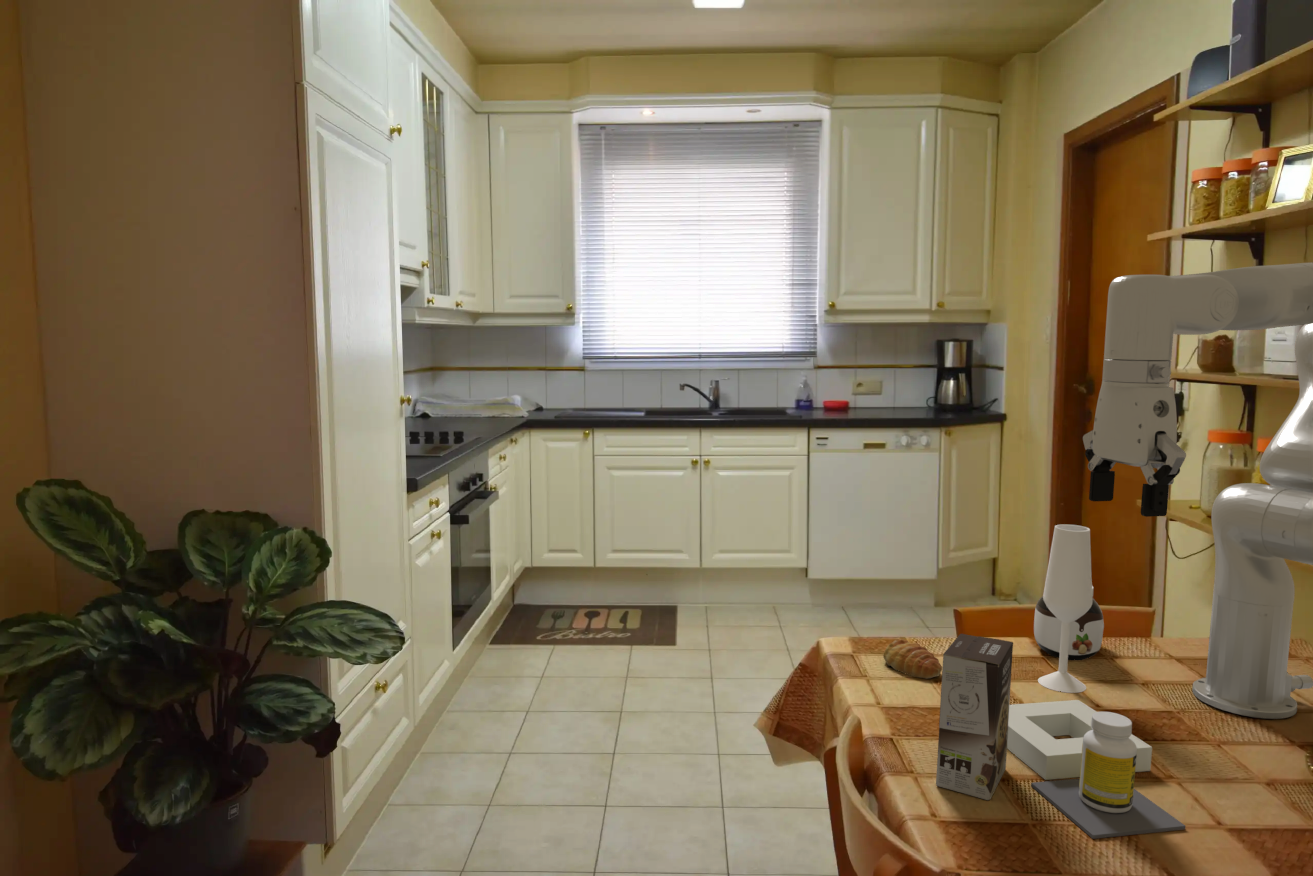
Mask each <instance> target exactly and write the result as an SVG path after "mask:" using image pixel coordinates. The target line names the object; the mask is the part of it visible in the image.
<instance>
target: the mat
mask: <svg viewBox="0 0 1313 876" xmlns="http://www.w3.org/2000/svg"><path fill="white" fill-rule="evenodd" d="M1079 781H1080V777H1078V778H1071V779H1070V778H1067V779H1055V780H1044V781H1036V782H1031V784H1030V786H1031V787H1032V788H1033V789H1034V790H1036V792H1037V793H1038V794H1040V795H1041V796H1042V797H1043V798H1044V799H1046V800H1047V801H1048V802H1049V803H1051V804H1052V805H1053V806H1054V807H1055V808H1056V809H1058V810H1059V811H1060V812H1061V813H1062V814H1063V815H1064V816H1066V817H1067V819H1069V820H1070V821H1071V822H1072V823H1073V824H1075V825H1076V827H1077V826H1078V828H1080V830H1082V831H1083V832H1084V833H1085V834H1086V835H1087V836H1089V837H1090V838H1091V839H1094V840H1095V839H1105V838H1113V837H1124V836H1133V835H1134V836H1135V835H1141V834H1143V835H1145V834H1153V833H1154V834H1155V833H1163V832H1171V831H1183V830H1186V825H1185V824H1184V823H1183V822H1181V821H1180V820H1178V819H1177V818H1176V817H1174V816H1173V815H1171V814H1170V813H1169V812H1167V811H1166V810H1164V809H1163V808H1161V807H1160V806H1159V805H1157V804H1156V803H1155V802H1153V801H1152V800H1151V799H1149V798H1148V797H1147V796H1145V795H1144V794H1142V793H1141V792H1139V791H1138V790H1137V789H1135V788H1134V790H1133V802H1132V807H1131V809H1130V810H1129V811H1127V812H1124V813H1109V812H1104V811H1100V810H1097V809H1094V808H1092V807H1090V806H1089V805H1087V804H1086V803H1084V802H1083V801H1082V800H1081V798H1080V797H1079Z"/></svg>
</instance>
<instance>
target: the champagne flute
mask: <svg viewBox="0 0 1313 876" xmlns="http://www.w3.org/2000/svg"><path fill="white" fill-rule="evenodd" d="M1091 546H1092V545H1091V529H1090V528H1089V527H1087V526H1082V525H1077V524H1065V523H1064V524H1061V523H1060V524H1057V525H1056V524H1055V525H1054V529H1053V536H1052V540H1051V546H1050V551H1049V559H1048V565H1047V571H1046V575H1045V582H1044V589H1043V595H1042V596H1043V600H1044V602H1045V604H1046V606H1047V607H1048V609H1049V610H1050V611H1051V612H1052V613H1053V614H1054V615H1055V616H1056V618H1058V619H1059V620H1061V621H1062V625H1061V640H1060V655H1059V658H1058V670H1057V671H1054V672H1051V673H1049V674H1045V675H1043V676H1040V677H1039V678H1038V679H1037V681H1038V683H1039V685H1041V686H1042V687H1044V688H1045V689H1049V690H1051V691H1056V692H1060V691H1061V693H1068V694H1071V693H1072V694H1074V693H1075V694H1076V693H1083V692H1084V691H1086V690H1087V685H1086V684H1084V683H1083V682H1082V681H1080V680H1079V679H1077V678H1076V677H1075V676H1074V675H1072V674H1070V673H1069V672H1068V663H1069V660H1068V649H1069V634H1070V622H1073V621H1075V620H1077V619H1078V618H1080V617H1081V616H1083V615H1084V614H1085V613H1086V612H1087V611H1088V610H1089V609H1090V608H1091V606H1092V598H1093V597H1092V586H1093V582H1092V581H1093V579H1092V576H1093V575H1092V574H1093V573H1092V551H1091V549H1092V547H1091Z"/></svg>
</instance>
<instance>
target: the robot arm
mask: <svg viewBox="0 0 1313 876" xmlns="http://www.w3.org/2000/svg"><path fill="white" fill-rule="evenodd" d="M1294 326H1301V328H1300V329H1299V331H1298V332H1297V335H1296V338H1295V341H1294V342H1295V343H1294V356H1295V361H1296V368H1297V375H1298V383H1299V384H1298V385H1299V386H1298V387H1299V393H1298V394H1299V395H1298V398H1297V401H1296V402H1295V405H1294V406H1293V408H1292V409H1291V411H1290V413H1289V414H1288V416H1287V417H1286V419H1285V420H1284V421H1283V422H1282V424H1281V426H1280V427H1279V428H1278V430H1277V431H1276V433H1275V435H1274V436H1273V438H1272V439H1271V440H1270V442H1269V443H1268V445H1267V446H1266V448H1265V450H1264V452H1263V453H1262V455H1261V457H1260V462H1259V473H1260V475H1261V477H1262V479H1263V480H1264V481H1265V482H1266V483H1267V484H1265V483H1264V484H1263V483H1255V482H1247V483H1246V482H1244V483H1243V482H1242V483H1236V484H1232V485H1230V486H1227V487H1226V488H1224V489H1223V490H1222V491H1220V493H1218V495H1217V496H1216V497H1215V499H1214V501H1213V504H1212V508H1211V515H1210V516H1211V517H1210V518H1211V530H1212V535H1213V542H1214V553H1215V555H1214V556H1215V557H1214V559H1215V560H1214V561H1215V562H1214V563H1215V566H1214V581H1213V582H1214V583H1213V591H1212V592H1213V593H1212V603H1211V605H1212V606H1211V615H1210V629H1209V640H1208V650H1207V651H1208V652H1207V661H1206V662H1207V663H1206V674H1205V677H1201V678H1198V679H1196V680H1194V681H1193V683H1192V690H1191V691H1192V694H1193V695H1194V696H1195V698H1197V699H1198V700H1200V701H1201V702H1202V703H1205V704H1207V705H1209V706H1211V707H1214V708H1215V709H1218V710H1220V711H1221V710H1222V711H1224V712H1228V713H1230V714H1231V713H1232V714H1235V715H1240V716H1244V717H1250V718H1258V719H1265V720H1266V719H1267V720H1269V719H1270V720H1275V719H1276V720H1279V719H1286V718H1290V717H1293V716H1294V715H1296V714H1297V711H1298V702H1297V701H1296V699H1294V698H1293V697H1292V696H1291V693H1292V692H1294V691H1295V690H1296V689H1297V690H1308V689H1309V690H1310V689H1312V688H1313V678H1312V677H1311V676H1310V675H1308V674H1299V675H1291V674H1289V673H1288V672H1287V671H1288V663H1289V652H1290V645H1291V644H1290V642H1291V633H1292V630H1291V629H1292V623H1293V622H1292V621H1293V614H1294V613H1293V612H1294V603H1295V596H1296V595H1295V591H1296V588H1295V582H1294V579H1293V575H1292V572H1291V571H1290V569H1289V566H1288V564H1287V563H1286V560H1288V561H1293V562H1297V563H1301V564H1307V565H1309V566H1310V565H1311V566H1313V262H1301V263H1300V262H1297V263H1285V264H1283V263H1282V264H1273V265H1272V264H1270V265H1255V266H1245V267H1238V268H1230V269H1222V270H1217V271H1208V272H1201V273H1200V272H1199V273H1192V274H1180V275H1165V274H1129V275H1122V276H1118V277H1115V278H1113V279H1112V281H1111V282H1110V284H1109V287H1108V293H1107V307H1106V321H1105V336H1104V351H1103V354H1104V355H1103V366H1102V378H1101V379H1102V381H1101V386H1100V390H1099V393H1098V398H1097V401H1096V402H1097V403H1096V408H1095V415H1094V423H1093V429H1092V430H1090V431H1089V432H1087V433H1085V434H1083V436H1082V441H1083V445H1084V449H1085V452H1084V455H1085V457H1086V460H1087V462H1088V464H1087V468H1088V470H1089V471H1090V477H1089V478H1090V479H1089V491H1088V492H1089V493H1088V499H1089V501H1091V502H1110V501H1113V500H1114V491H1115V479H1116V478H1115V477H1116V473H1115V472H1116V471H1115V470H1112V469H1113V467H1114V466H1115V465H1116V463H1118V464H1124V465H1126V466H1130V467H1131V466H1132V467H1139V468H1140V469H1141V471H1142V474H1143V476H1144V478H1145V481H1146V483H1143V484H1142V489H1141V490H1142V491H1141V501H1140V502H1141V503H1140V504H1141V505H1140V514H1141V516H1142V517H1146V518H1147V517H1165V516H1167V513H1168V506H1169V505H1168V501H1169V491H1170V489H1169V488H1170V485H1173V483H1174V480H1175V479H1176V477H1177V476H1178V475H1179V474H1180V472H1181V468H1182V466H1183V463H1184V462H1185V459H1186V457H1187V453H1186V451H1184V449H1182V448H1181V447H1180V446H1179V445H1178V444H1177V441H1178V440H1177V439H1178V436H1177V434H1178V429H1177V427H1178V423H1177V417H1178V416H1177V404H1176V398H1175V397H1176V396H1175V391H1174V387H1171V386H1170V381H1171V374H1172V370H1171V368H1172V357H1173V345H1174V335H1184V336H1185V335H1189V336H1190V335H1191V336H1192V335H1195V336H1197V335H1208V334H1213V333H1216V332H1218V331H1258V330H1259V331H1261V330H1267V329H1268V330H1269V329H1275V328H1276V329H1277V328H1284V327H1285V328H1286V327H1294ZM1154 469H1157V470H1156V471H1155V470H1154Z"/></svg>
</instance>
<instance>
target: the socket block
mask: <svg viewBox="0 0 1313 876" xmlns="http://www.w3.org/2000/svg"><path fill="white" fill-rule="evenodd" d="M1096 712H1097V710H1095V709H1093V708H1092V707H1091V706H1089V705H1087V704H1086V703H1084V702H1082V700H1079V699H1072V700H1071V699H1070V700H1058V701H1042V702H1030V703H1016V704H1015V703H1014V704H1009V721H1008V740H1007V751H1010V752H1011V754H1013V755H1014V754H1015V755H1014V756H1015V757H1017V758H1018V759H1019V760H1021V762H1023V763H1024V764H1025V765H1027V766H1028V767H1029V768H1030V769H1031V770H1033V771H1034V772H1035V773H1036V774H1037V773H1038V774H1037V775H1039V776H1040V777H1041V778H1042V779H1044V781H1052V780H1063V779H1070V778H1071V779H1075V778H1080V770H1081V758H1082V745H1083V737H1084V735H1085V734H1086V733H1087V732H1088V731H1090V730H1092V728H1091V720H1092V715H1093V714H1094V713H1096ZM1059 736H1070V737H1071V738H1060V739H1058V738H1055V737H1059ZM1129 738H1131V739H1132V740H1133V741H1134V743H1135V744H1136V747H1137V757H1136V767H1135V773H1141V772H1151V769H1152V767H1151V766H1152V754H1153V747H1152V745H1149V744H1148V743H1146V742H1145V741H1143V740H1142V739H1140V738H1139V737H1138V736H1135V735H1134V734H1133V733H1131V736H1130V737H1129Z"/></svg>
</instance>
